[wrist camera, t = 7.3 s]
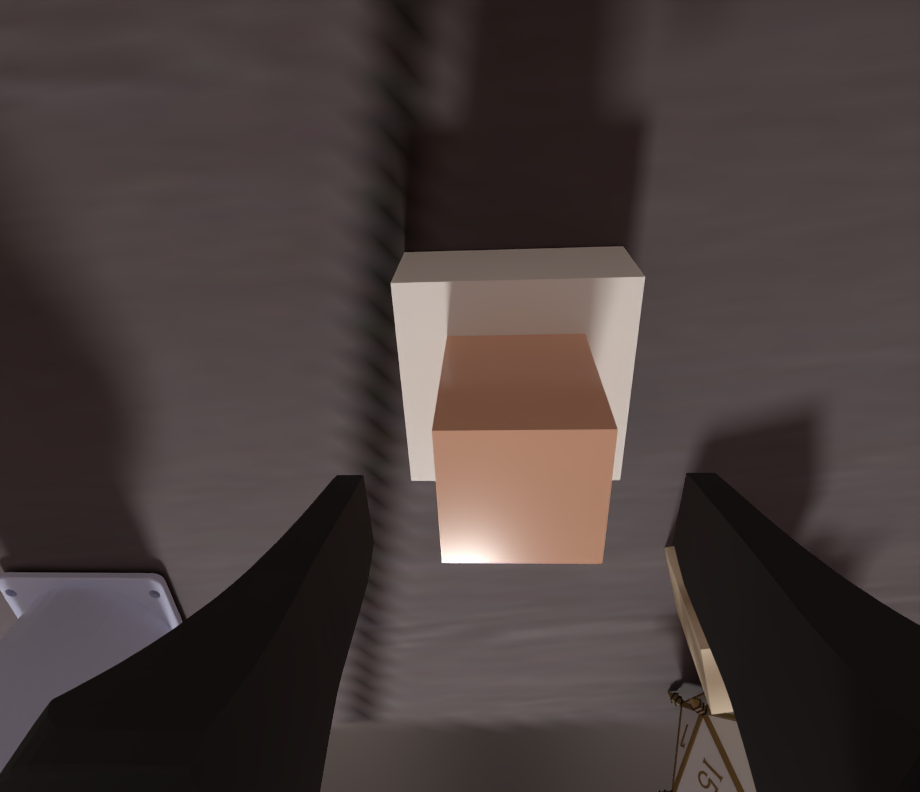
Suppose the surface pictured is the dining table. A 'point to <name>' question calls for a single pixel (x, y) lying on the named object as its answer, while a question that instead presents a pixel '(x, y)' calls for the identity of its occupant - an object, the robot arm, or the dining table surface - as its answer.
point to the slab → (512, 320)
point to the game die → (708, 750)
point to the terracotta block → (522, 450)
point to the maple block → (697, 641)
